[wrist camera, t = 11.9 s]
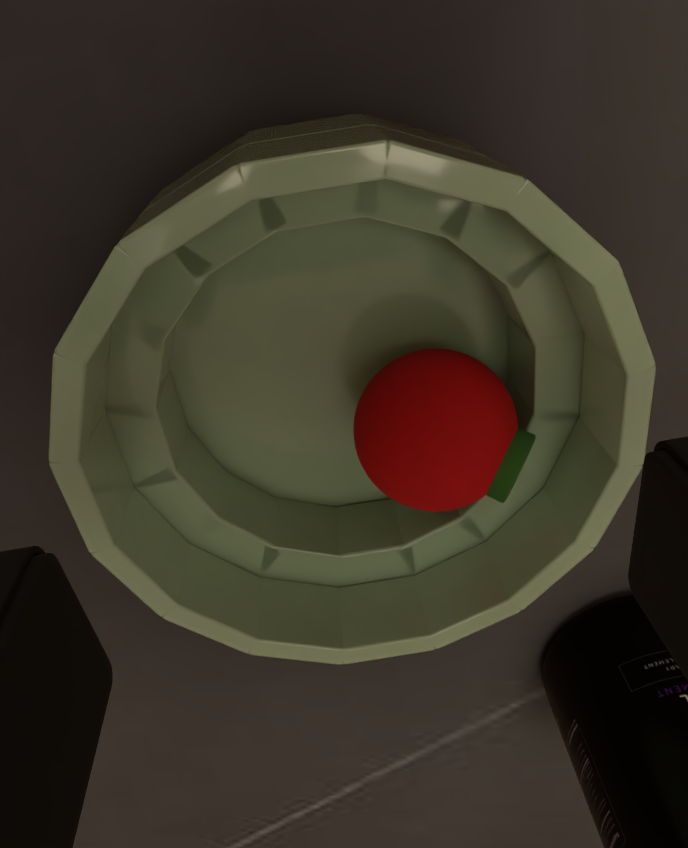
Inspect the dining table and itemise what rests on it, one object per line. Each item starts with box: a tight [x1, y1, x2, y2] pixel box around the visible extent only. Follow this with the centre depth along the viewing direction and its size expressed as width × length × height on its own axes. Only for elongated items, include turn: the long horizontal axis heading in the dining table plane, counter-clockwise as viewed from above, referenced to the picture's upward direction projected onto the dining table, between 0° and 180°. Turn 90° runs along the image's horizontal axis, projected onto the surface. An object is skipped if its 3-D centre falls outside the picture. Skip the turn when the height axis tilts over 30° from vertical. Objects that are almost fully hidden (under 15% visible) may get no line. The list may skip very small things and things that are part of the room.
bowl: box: [48, 113, 656, 665], centre depth 15 cm, size 12×12×5 cm
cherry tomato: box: [353, 348, 536, 512], centre depth 16 cm, size 4×4×4 cm
